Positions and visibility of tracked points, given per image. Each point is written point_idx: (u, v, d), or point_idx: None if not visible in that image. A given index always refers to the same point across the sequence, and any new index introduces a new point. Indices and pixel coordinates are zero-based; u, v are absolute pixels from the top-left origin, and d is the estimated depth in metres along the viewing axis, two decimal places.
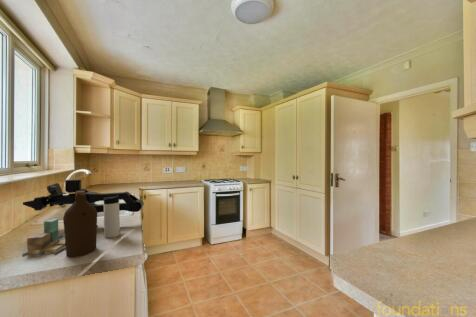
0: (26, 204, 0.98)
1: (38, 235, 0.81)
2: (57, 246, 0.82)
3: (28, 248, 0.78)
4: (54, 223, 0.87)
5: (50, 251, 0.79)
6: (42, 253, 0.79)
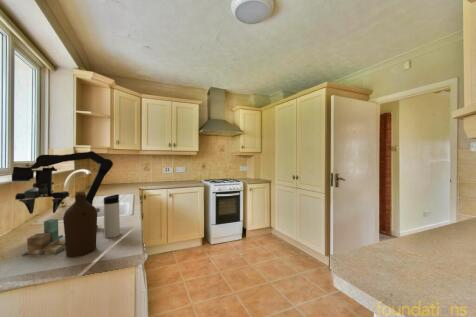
0: (56, 208, 0.98)
1: (38, 235, 0.81)
2: (57, 246, 0.82)
3: (28, 248, 0.78)
4: (54, 223, 0.87)
5: (50, 251, 0.79)
6: (42, 253, 0.79)
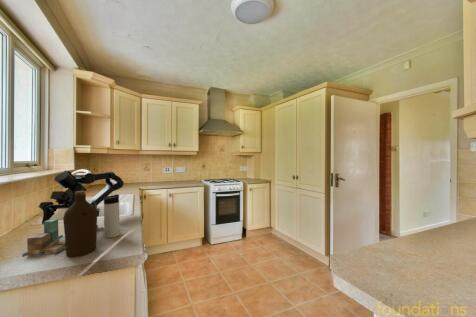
0: None
1: (38, 235, 0.81)
2: (57, 246, 0.82)
3: (28, 248, 0.78)
4: (54, 223, 0.87)
5: (50, 251, 0.79)
6: (42, 253, 0.79)
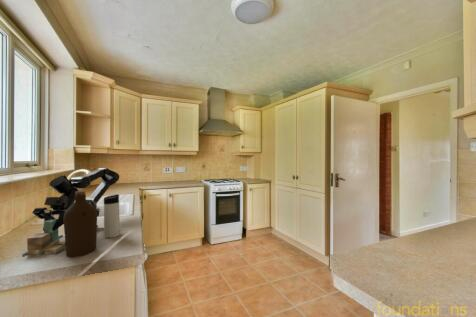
0: (57, 226, 0.87)
1: (38, 235, 0.81)
2: (57, 246, 0.82)
3: (28, 248, 0.78)
4: (54, 223, 0.87)
5: (50, 251, 0.79)
6: (42, 253, 0.79)
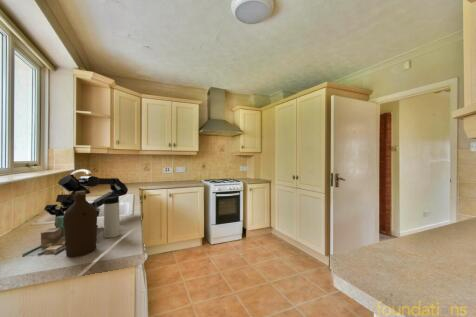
0: None
1: (50, 230, 0.87)
2: (57, 246, 0.82)
3: (41, 242, 0.84)
4: None
5: (50, 251, 0.79)
6: (42, 253, 0.79)
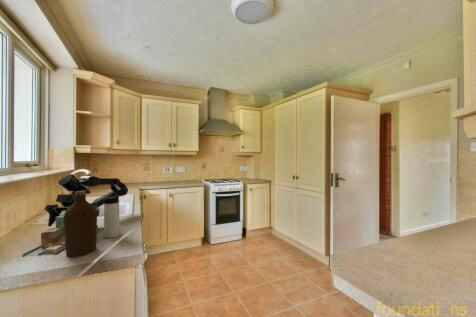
0: None
1: (51, 230, 0.87)
2: (57, 246, 0.82)
3: (41, 242, 0.84)
4: None
5: (50, 251, 0.79)
6: (42, 253, 0.79)
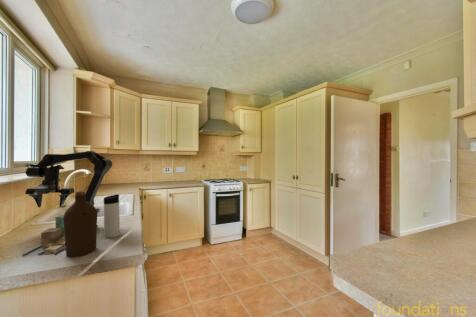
0: (62, 203, 1.08)
1: (51, 230, 0.87)
2: (57, 246, 0.82)
3: (41, 242, 0.84)
4: None
5: (50, 251, 0.79)
6: (42, 253, 0.79)
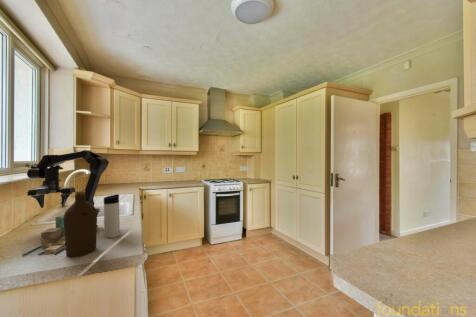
0: (64, 203, 1.10)
1: (51, 230, 0.87)
2: (57, 246, 0.82)
3: (41, 242, 0.84)
4: None
5: (50, 251, 0.79)
6: (42, 253, 0.79)
